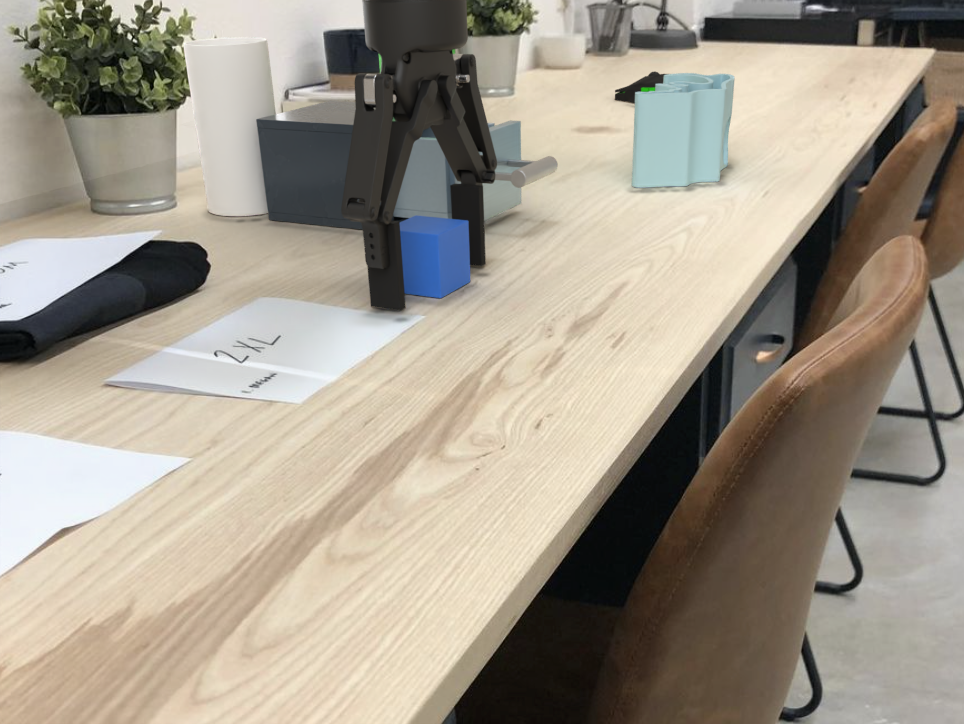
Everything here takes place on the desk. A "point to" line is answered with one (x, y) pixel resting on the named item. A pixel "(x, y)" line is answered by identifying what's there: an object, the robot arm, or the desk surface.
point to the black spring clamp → (639, 87)
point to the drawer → (433, 177)
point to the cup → (230, 119)
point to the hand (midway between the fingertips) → (431, 284)
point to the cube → (434, 255)
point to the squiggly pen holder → (682, 130)
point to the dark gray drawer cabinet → (308, 163)
